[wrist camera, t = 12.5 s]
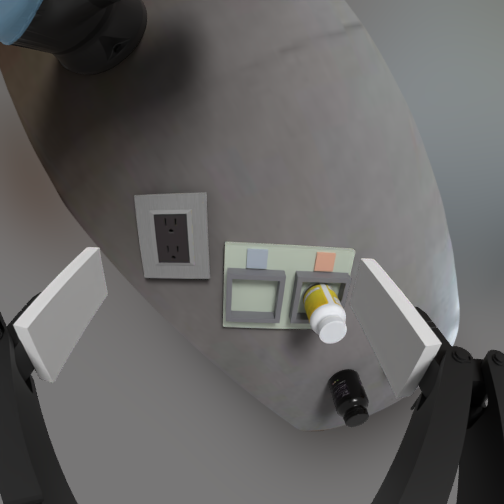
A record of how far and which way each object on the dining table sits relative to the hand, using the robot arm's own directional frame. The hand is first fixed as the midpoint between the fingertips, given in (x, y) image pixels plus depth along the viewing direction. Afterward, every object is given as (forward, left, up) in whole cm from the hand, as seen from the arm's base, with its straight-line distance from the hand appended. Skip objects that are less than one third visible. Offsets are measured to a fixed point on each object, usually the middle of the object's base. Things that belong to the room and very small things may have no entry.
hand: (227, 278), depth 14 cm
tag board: (+17, +9, -28) cm, 34 cm away
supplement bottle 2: (+40, +25, -28) cm, 55 cm away
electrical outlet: (+9, -9, -29) cm, 31 cm away
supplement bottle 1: (+17, +14, -27) cm, 35 cm away
